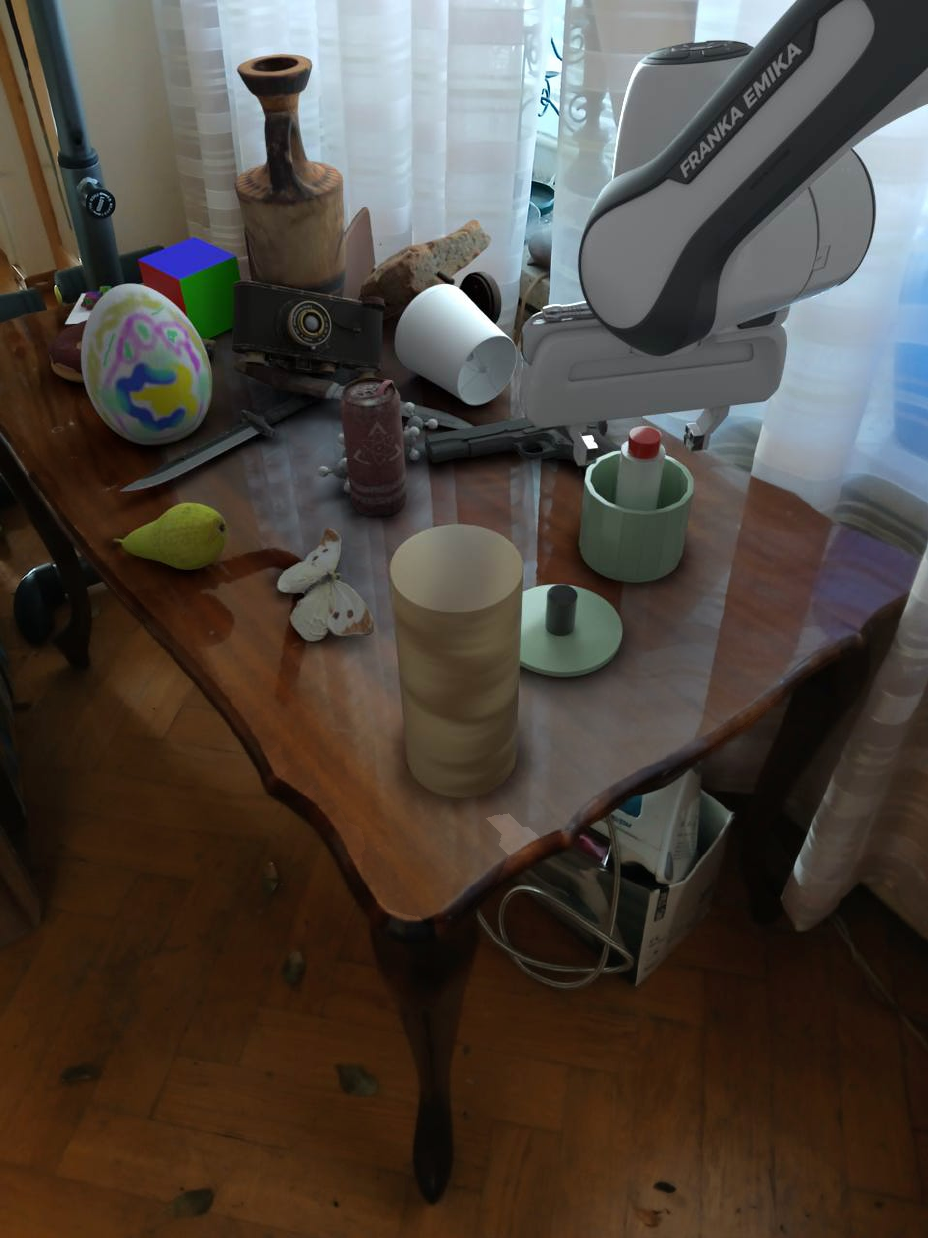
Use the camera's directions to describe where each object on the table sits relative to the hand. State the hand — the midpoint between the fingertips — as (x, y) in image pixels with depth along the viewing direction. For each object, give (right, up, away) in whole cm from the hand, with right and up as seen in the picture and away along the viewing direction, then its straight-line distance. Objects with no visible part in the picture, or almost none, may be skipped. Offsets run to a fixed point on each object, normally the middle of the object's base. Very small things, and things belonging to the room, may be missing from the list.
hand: (640, 453), depth 80 cm
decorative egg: (-46, +7, +22) cm, 52 cm away
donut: (-56, +15, +31) cm, 65 cm away
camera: (-30, +21, +22) cm, 43 cm away
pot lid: (-7, -14, -1) cm, 16 cm away
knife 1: (-36, +3, +17) cm, 40 cm away
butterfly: (-26, -12, +3) cm, 29 cm away
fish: (-48, +16, +26) cm, 57 cm away
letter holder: (-32, +27, +42) cm, 60 cm away
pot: (0, -7, +7) cm, 10 cm away
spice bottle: (0, -7, +7) cm, 10 cm away
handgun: (-6, -2, +11) cm, 12 cm away
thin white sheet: (-59, +25, +41) cm, 76 cm away
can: (-22, -2, +13) cm, 26 cm away
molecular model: (-21, +2, +14) cm, 25 cm away
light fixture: (-20, +23, +32) cm, 44 cm away
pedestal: (-15, -23, -9) cm, 29 cm away
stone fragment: (-14, +33, +38) cm, 52 cm away
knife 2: (-26, +9, +23) cm, 36 cm away
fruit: (-35, -6, +4) cm, 35 cm away
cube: (-46, +22, +38) cm, 64 cm away
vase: (-32, +17, +32) cm, 48 cm away
